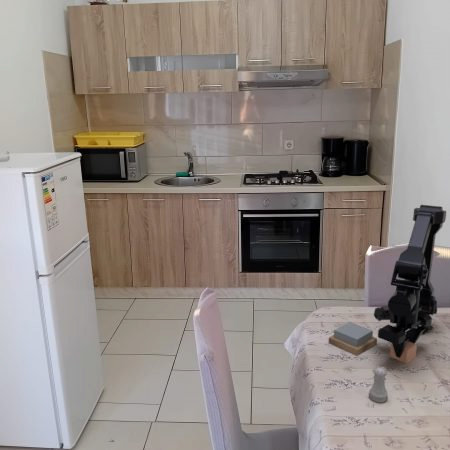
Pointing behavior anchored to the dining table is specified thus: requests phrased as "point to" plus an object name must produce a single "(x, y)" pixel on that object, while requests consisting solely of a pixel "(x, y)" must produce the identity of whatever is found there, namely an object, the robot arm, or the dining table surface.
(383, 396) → the grey chess pawn
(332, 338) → the walnut base block
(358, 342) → the slate top block
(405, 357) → the terracotta block
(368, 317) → the dining table surface
